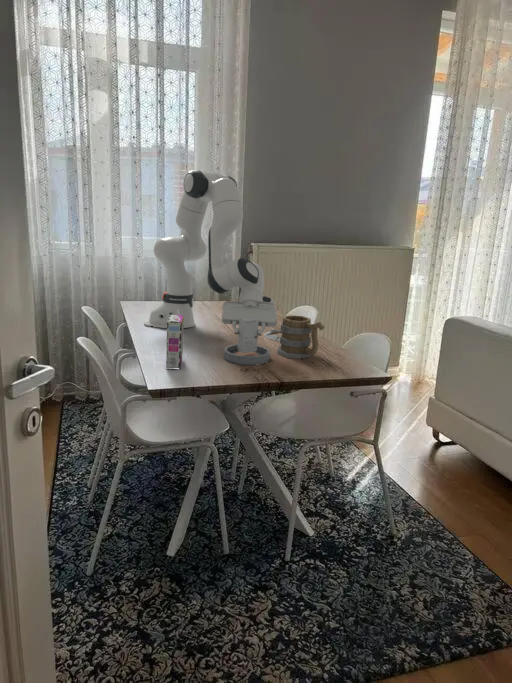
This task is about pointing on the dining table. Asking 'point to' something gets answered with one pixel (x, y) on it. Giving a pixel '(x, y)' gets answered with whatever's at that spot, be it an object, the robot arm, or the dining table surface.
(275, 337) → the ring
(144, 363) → the dining table surface
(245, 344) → the grey upright block
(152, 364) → the dining table surface
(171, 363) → the candy bar box
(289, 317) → the tankard
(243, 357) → the round tray
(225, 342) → the dining table surface
